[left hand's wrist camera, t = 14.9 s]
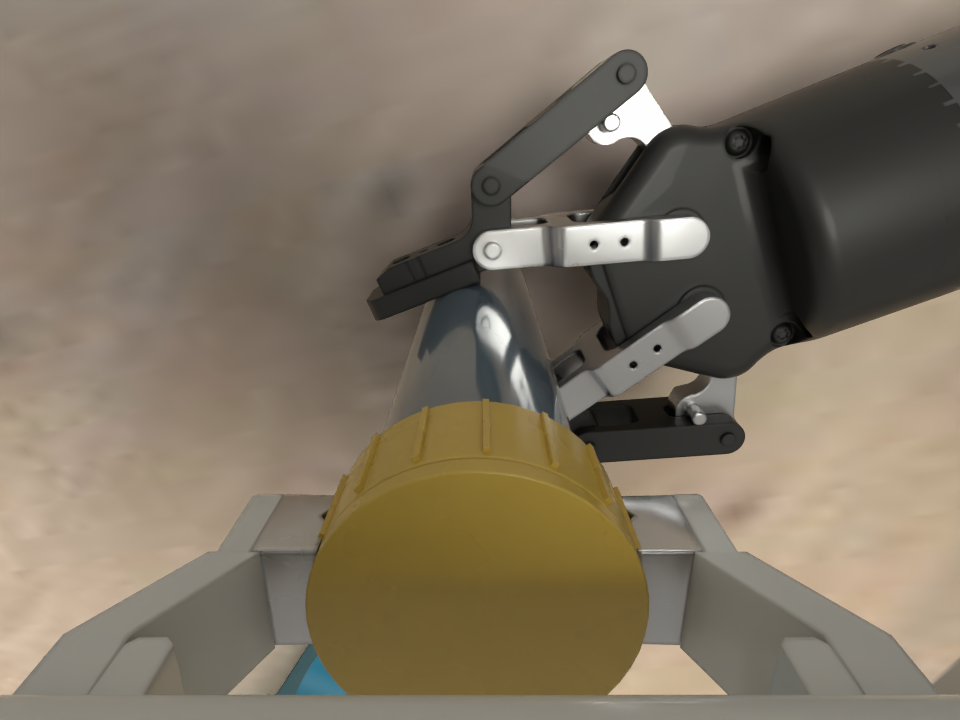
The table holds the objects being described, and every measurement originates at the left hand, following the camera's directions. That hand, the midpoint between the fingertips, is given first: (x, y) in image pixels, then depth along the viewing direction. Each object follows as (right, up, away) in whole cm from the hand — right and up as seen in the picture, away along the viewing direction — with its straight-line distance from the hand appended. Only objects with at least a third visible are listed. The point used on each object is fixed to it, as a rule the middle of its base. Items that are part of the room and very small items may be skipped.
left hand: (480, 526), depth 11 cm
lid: (0, -1, -2) cm, 2 cm away
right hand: (-3, +3, +10) cm, 11 cm away
